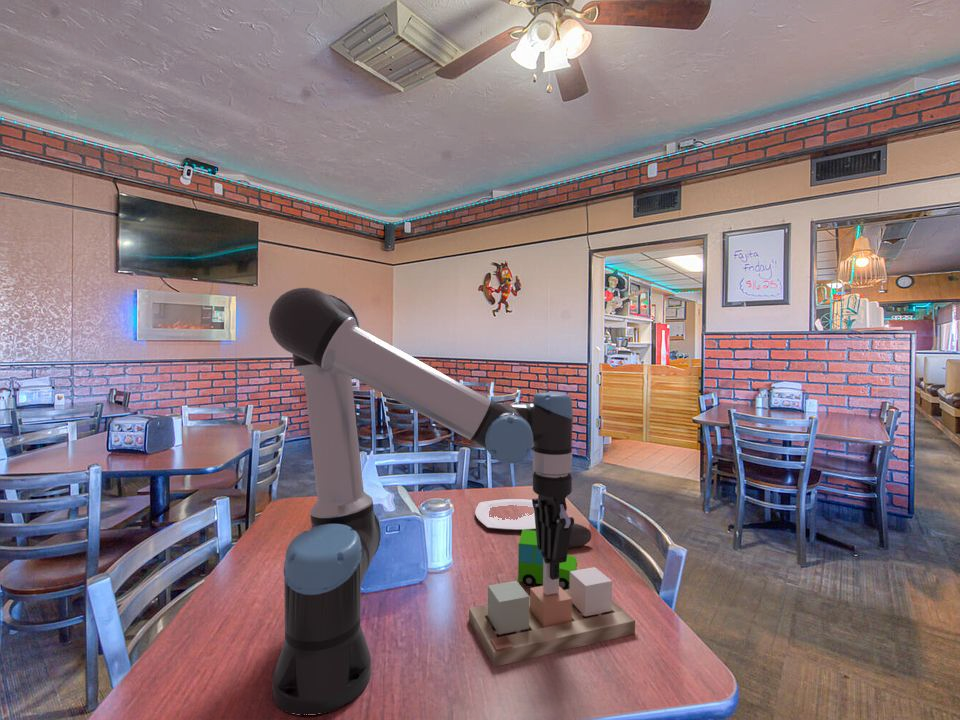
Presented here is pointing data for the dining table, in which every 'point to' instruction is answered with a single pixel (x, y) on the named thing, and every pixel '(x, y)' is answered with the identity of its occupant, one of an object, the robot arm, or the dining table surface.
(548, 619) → the terracotta button
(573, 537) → the perforated stone tool
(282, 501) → the dining table surface
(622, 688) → the dining table surface
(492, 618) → the sage button
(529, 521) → the plate
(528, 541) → the toy car
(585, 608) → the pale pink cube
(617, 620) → the board
